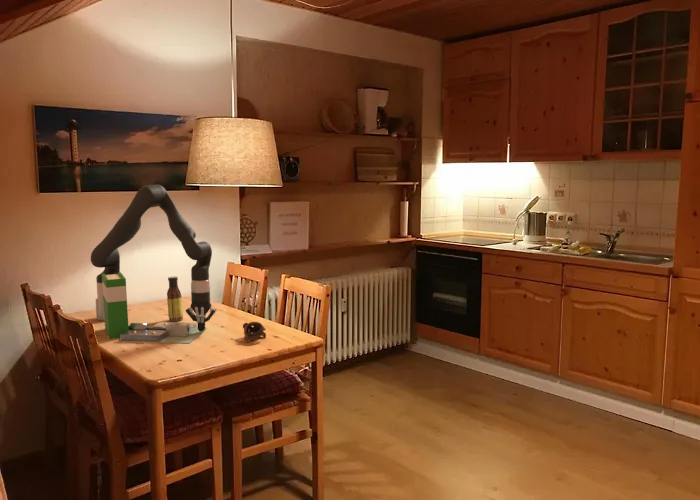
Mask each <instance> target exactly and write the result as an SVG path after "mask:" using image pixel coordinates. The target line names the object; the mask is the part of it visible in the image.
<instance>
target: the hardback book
mask: <svg viewBox="0 0 700 500" xmlns="http://www.w3.org/2000/svg"><path fill="white" fill-rule="evenodd" d="M101 273H102V272H101ZM126 280H127V279H126V277H125V276H124V275H123V273H121V271H120V272H118V274H112V275H105V274H104V273H102V285H103V302H104V318H105V321H104V329H105V333H106V334H107V337H108V336H109V337H108V339H109V340H112V339H113V338H115V339H120V334H122V333H124V332H125V331H127V330H129V327H128V326H129V315H128V314H129V312H128V311H129V310H128V298H127V297H128V296H127V295H128V294H127V293H128V292H127V281H126ZM113 340H114V339H113Z"/></svg>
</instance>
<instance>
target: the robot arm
mask: <svg viewBox="0 0 700 500" xmlns="http://www.w3.org/2000/svg"><path fill="white" fill-rule="evenodd" d="M156 207H159V208H160V209H161V210H162V211H163V212H164V213H165V214H166V217H167V221H168V225H169V229H170V230H171V232H172V234H173V235H174V236H175V237H176V238H177V240H178V241H179V242H180V243H181V246H182V248H183V250H184V252H185V254H186V256H187V257H188V258H189V259H190V260H193V261H196V262H195V264H194V265H193V266H191V269H190V270H191V271H190V272H191V275H190V276H191V278H190V279H191V282H190V290H191V291H190V292H191V293H190V295H191V297H190V298H191V301H190V302H191V303H190V307H188V308H186V309H185V312H186V314H187V315H188V317H189V318H190V319H191V320H192V321H193V322H195V323H197V328H198V330H199V331H200V332H203V331H204V330H205V328H206V322H209V321H210V319H212V317H213V316H214V315H215V313H216V312H217V308H214V307H212V303H211V285H210V284H211V283H210V271H209V270H210V265H211V261H212V257H213V256H212V255H213V250H212V246H211V245H210V243H209V242H207V241H198V242H197V241H196V240H195V238H196V237H197V234H196V232H195V230H194V229H193V228H192V227H191V226H190V224H189V223H188V222H187V221H186V220H185V217H183V215H182V214H181V213H180V211H179V209H178V208H177V206H176V204H175V202H174V201H173V199H172V198H171V196H170V194H169V193H168V190H166V188H165V187H164V186H162V185H161V184H149V185H143V186H141V187H140V188H139V189H138V190H137V192H136V194H135V195H134V197H133V198H132V201H131V202H130V204H129V205H128V207H127V208H126V210H125V211H124V212H123V214H122V215H121V216H120V217H119V219H117V221H116V222H115V224H114V226H113V227H112V228H111V229H110V231H109V232H108V233H107V234H106V236H105V237H104V238H103V239H102V240H101V241H100V242H99V243H98V245H96V246H95V248H93V250H92V252H91V254H90V262H91V264H92V265H93V266H94V267H96V268H100V269H101V268H104V270H102V272H100V273H99V274H98V275H97V276H96V295H97V297H96V298H95V313H96V315H95V316H96V317H95V318H96V320H97V321H103V322H105V318H104V302H103V285H102V273H104V274H105V275H112V274H118V272H121V270H120V269H121V265H120V264H121V263H120V261H121V258H120V251H119V248H120V247H122V246H124V245H126V244H127V243H128V242H130V241H131V240H132V239H134V237H135V236H136V235H137V234H138V232H139V231H140V229H141V226H142V217H143V216H144V214H145V213H146V212H147V211H148V210H149V209H151V208H156ZM208 313H209V314H208ZM207 314H208V315H207ZM205 331H206V330H205ZM205 331H204V332H205ZM204 332H203V333H204Z"/></svg>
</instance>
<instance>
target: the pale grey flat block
mask: <svg viewBox="0 0 700 500" xmlns="http://www.w3.org/2000/svg"><path fill="white" fill-rule="evenodd" d="M152 327H162V328H166V331H167V336H188V335H189V334H190V333H192V332H193V331H194V330H195V329H197V328H198V323H197V322H181V321H159V322H158V323H156V324H154V325H153V326H152Z"/></svg>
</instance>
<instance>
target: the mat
mask: <svg viewBox="0 0 700 500" xmlns="http://www.w3.org/2000/svg"><path fill="white" fill-rule="evenodd" d="M207 330H208V328H207V327H205V330H204V331H203V332H200V331H199V330H198V327H197V329H195V330H194V331H193V332H192V333H190V334H189V335H188V336H167V337H166V338H164V339H163V340H162V341H160V342H152V341H121V340H119V342H120V343H151V344H190V343H192V342H193V341H195V339H197V338H198V337H199V336H200V335H201V334H203V333H204V332H205V331H207Z"/></svg>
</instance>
